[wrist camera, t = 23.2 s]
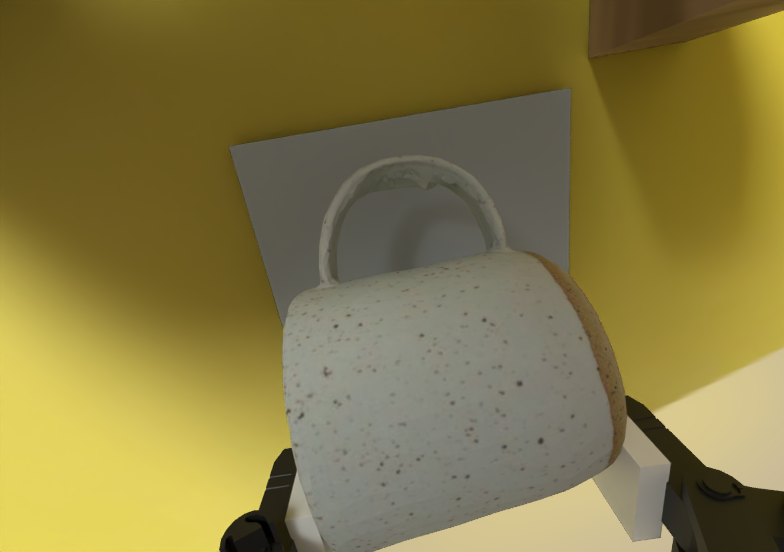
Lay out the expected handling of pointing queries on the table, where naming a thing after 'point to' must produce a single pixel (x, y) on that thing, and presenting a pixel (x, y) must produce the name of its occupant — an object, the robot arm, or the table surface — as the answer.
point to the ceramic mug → (443, 380)
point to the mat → (410, 190)
